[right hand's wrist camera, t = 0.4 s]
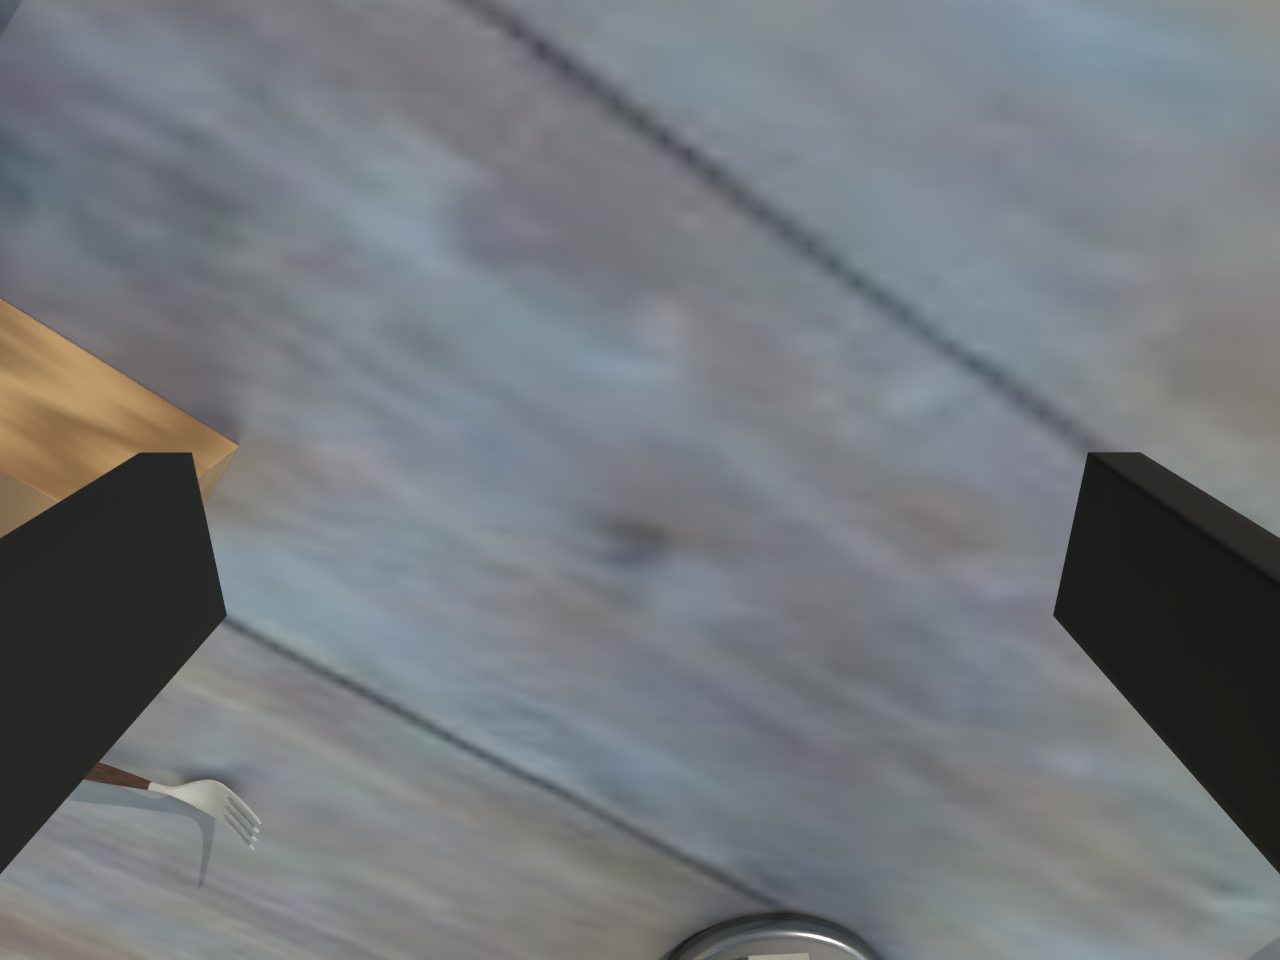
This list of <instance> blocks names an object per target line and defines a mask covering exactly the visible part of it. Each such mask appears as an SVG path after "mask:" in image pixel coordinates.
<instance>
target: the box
mask: <svg viewBox="0 0 1280 960" xmlns="http://www.w3.org/2000/svg"><path fill="white" fill-rule="evenodd" d="M238 447H239V446H238V445H237V444H235V443H233V442H232V441H230V440H229V439H227V438H225V437H224V436H222V435H220V434H219V433H217V432H216V431H214V430H212V429H211V428H209V427H208V426H206V425H204V424H203V423H201V422H199V421H198V420H196V419H195V418H193V417H191V416H190V415H188V414H186V413H185V412H183V411H182V410H180V409H178V408H177V407H175V406H174V405H172V404H170V403H169V402H167V401H165V400H164V399H162V398H161V397H159V396H157V395H156V394H154V393H152V392H151V391H149V390H148V389H146V388H144V387H143V386H141V385H140V384H138V383H136V382H135V381H133V380H131V379H130V378H128V377H127V376H125V375H123V374H122V373H120V372H118V371H117V370H115V369H114V368H112V367H110V366H109V365H107V364H105V363H104V362H102V361H101V360H99V359H97V358H96V357H94V356H93V355H91V354H89V353H88V352H86V351H84V350H83V349H81V348H80V347H78V346H76V345H75V344H73V343H71V342H70V341H68V340H67V339H65V338H63V337H62V336H60V335H59V334H57V333H55V332H54V331H52V330H50V329H49V328H47V327H46V326H44V325H42V324H41V323H39V322H37V321H36V320H34V319H33V318H31V317H29V316H28V315H26V314H25V313H23V312H21V311H20V310H18V309H16V308H15V307H13V306H12V305H10V304H8V303H7V302H5V301H3V300H2V299H0V538H1V537H3V536H5V535H6V534H8V533H10V532H11V531H13V530H14V529H16V528H18V527H19V526H21V525H23V524H24V523H26V522H27V521H29V520H31V519H32V518H34V517H36V516H37V515H39V514H40V513H42V512H44V511H45V510H47V509H49V508H50V507H52V506H53V505H55V504H57V503H58V502H60V501H62V500H63V499H65V498H66V497H68V496H70V495H71V494H73V493H75V492H76V491H78V490H79V489H81V488H83V487H84V486H86V485H88V484H89V483H91V482H92V481H94V480H96V479H97V478H99V477H101V476H102V475H104V474H105V473H107V472H109V471H110V470H112V469H114V468H115V467H117V466H118V465H120V464H122V463H123V462H125V461H127V460H128V459H130V458H131V457H133V456H135V455H136V454H138V453H140V452H192V455H193V460H194V464H195V469H196V474H197V478H198V483H199V488H200V492H201V497H202V502H203V505H204V504H205V502H206V500H207V499H208V497H209V495H210V494H211V492H212V490H213V489H214V487H215V485H216V484H217V482H218V480H219V479H220V477H221V475H222V474H223V472H224V470H225V469H226V467H227V465H228V464H229V462H230V460H231V459H232V457H233V455H234V454H235V452H236V450H237V449H238Z"/></svg>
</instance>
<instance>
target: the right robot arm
mask: <svg viewBox="0 0 1280 960" xmlns="http://www.w3.org/2000/svg"><path fill="white" fill-rule="evenodd" d="M226 616H227V614H226V610H225V605H224V600H223V596H222V591H221V586H220V581H219V577H218V572H217V567H216V563H215V558H214V553H213V549H212V544H211V539H210V535H209V530H208V525H207V521H206V516H205V511H204V507H203V502H202V497H201V492H200V488H199V483H198V478H197V474H196V469H195V464H194V460H193V455H192V452H140V453H138V454H136V455H135V456H133V457H131V458H130V459H128V460H127V461H125V462H123V463H122V464H120V465H118V466H117V467H115V468H114V469H112V470H110V471H109V472H107V473H105V474H104V475H102V476H101V477H99V478H97V479H96V480H94V481H92V482H91V483H89V484H88V485H86V486H84V487H83V488H81V489H79V490H78V491H76V492H75V493H73V494H71V495H70V496H68V497H66V498H65V499H63V500H62V501H60V502H58V503H57V504H55V505H53V506H52V507H50V508H49V509H47V510H45V511H44V512H42V513H40V514H39V515H37V516H36V517H34V518H32V519H31V520H29V521H27V522H26V523H24V524H23V525H21V526H19V527H18V528H16V529H14V530H13V531H11V532H10V533H8V534H6V535H5V536H3V537H1V538H0V874H1V873H2V871H3V870H4V869H5V868H6V867H7V866H8V865H9V863H10V862H11V861H12V860H13V859H14V858H15V857H16V855H17V854H18V853H19V852H20V851H21V850H22V849H23V847H24V846H25V845H26V844H27V843H28V842H29V841H30V839H31V838H32V837H33V836H34V835H35V834H36V833H37V831H38V830H39V829H40V828H41V827H42V826H43V825H44V823H45V822H46V821H47V820H48V819H49V818H50V817H51V816H52V814H53V813H54V812H55V811H56V810H57V809H58V808H59V806H60V805H61V804H62V803H63V802H64V801H65V800H66V798H67V797H68V796H69V795H70V794H71V793H72V792H73V790H74V789H75V788H76V787H77V786H78V785H79V784H80V782H81V781H82V780H83V779H84V778H85V777H86V776H87V774H88V773H89V772H90V771H91V770H92V769H93V768H94V766H95V765H96V764H97V763H98V762H99V761H100V760H101V758H102V757H103V756H104V755H105V754H106V753H107V752H108V750H109V749H110V748H111V747H112V746H113V745H114V744H115V743H116V741H117V740H118V739H119V738H120V737H121V736H122V735H123V733H124V732H125V731H126V730H127V729H128V728H129V727H130V725H131V724H132V723H133V722H134V721H135V720H136V719H137V717H138V716H139V715H140V714H141V713H142V712H143V711H144V709H145V708H146V707H147V706H148V705H149V704H150V703H151V701H152V700H153V699H154V698H155V697H156V696H157V695H158V693H159V692H160V691H161V690H162V689H163V688H164V687H165V685H166V684H167V683H168V682H169V681H170V680H171V679H172V677H173V676H174V675H175V674H176V673H177V672H178V671H179V670H180V668H181V667H182V666H183V665H184V664H185V663H186V662H187V660H188V659H189V658H190V657H191V656H192V655H193V654H194V652H195V651H196V650H197V649H198V648H199V647H200V646H201V644H202V643H203V642H204V641H205V640H206V639H207V638H208V636H209V635H210V634H211V633H212V632H213V631H214V630H215V628H216V627H217V626H218V625H219V624H220V623H221V622H222V620H223V619H224V618H225V617H226ZM1053 616H1054V617H1055V618H1056V619H1057V620H1058V622H1059V623H1060V624H1061V625H1062V626H1063V627H1064V628H1065V630H1066V631H1067V632H1068V633H1069V634H1070V635H1071V636H1072V638H1073V639H1074V640H1075V641H1076V642H1077V643H1078V644H1079V646H1080V647H1081V648H1082V649H1083V650H1084V651H1085V652H1086V654H1087V655H1088V656H1089V657H1090V658H1091V659H1092V660H1093V662H1094V663H1095V664H1096V665H1097V666H1098V667H1099V668H1100V670H1101V671H1102V672H1103V673H1104V674H1105V675H1106V676H1107V678H1108V679H1109V680H1110V681H1111V682H1112V683H1113V684H1114V685H1115V687H1116V688H1117V689H1118V690H1119V691H1120V692H1121V693H1122V695H1123V696H1124V697H1125V698H1126V699H1127V700H1128V701H1129V703H1130V704H1131V705H1132V706H1133V707H1134V708H1135V709H1136V711H1137V712H1138V713H1139V714H1140V715H1141V716H1142V717H1143V719H1144V720H1145V721H1146V722H1147V723H1148V724H1149V725H1150V727H1151V728H1152V729H1153V730H1154V731H1155V732H1156V733H1157V735H1158V736H1159V737H1160V738H1161V739H1162V740H1163V741H1164V743H1165V744H1166V745H1167V746H1168V747H1169V748H1170V749H1171V750H1172V752H1173V753H1174V754H1175V755H1176V756H1177V757H1178V758H1179V760H1180V761H1181V762H1182V763H1183V764H1184V765H1185V766H1186V768H1187V769H1188V770H1189V771H1190V772H1191V773H1192V774H1193V776H1194V777H1195V778H1196V779H1197V780H1198V781H1199V782H1200V784H1201V785H1202V786H1203V787H1204V788H1205V789H1206V790H1207V792H1208V793H1209V794H1210V795H1211V796H1212V797H1213V798H1214V800H1215V801H1216V802H1217V803H1218V804H1219V805H1220V806H1221V808H1222V809H1223V810H1224V811H1225V812H1226V813H1227V814H1228V816H1229V817H1230V818H1231V819H1232V820H1233V821H1234V822H1235V823H1236V825H1237V826H1238V827H1239V828H1240V829H1241V830H1242V831H1243V833H1244V834H1245V835H1246V836H1247V837H1248V838H1249V839H1250V841H1251V842H1252V843H1253V844H1254V845H1255V846H1256V847H1257V849H1258V850H1259V851H1260V852H1261V853H1262V854H1263V855H1264V857H1265V858H1266V859H1267V860H1268V861H1269V862H1270V863H1271V865H1272V866H1273V867H1274V868H1275V869H1276V870H1277V871H1278V873H1279V874H1280V538H1279V537H1277V536H1275V535H1274V534H1272V533H1270V532H1269V531H1267V530H1266V529H1264V528H1262V527H1261V526H1259V525H1257V524H1256V523H1254V522H1253V521H1251V520H1249V519H1248V518H1246V517H1244V516H1243V515H1241V514H1240V513H1238V512H1236V511H1235V510H1233V509H1231V508H1230V507H1228V506H1227V505H1225V504H1223V503H1222V502H1220V501H1218V500H1217V499H1215V498H1214V497H1212V496H1210V495H1209V494H1207V493H1205V492H1204V491H1202V490H1201V489H1199V488H1197V487H1196V486H1194V485H1192V484H1191V483H1189V482H1188V481H1186V480H1184V479H1183V478H1181V477H1179V476H1178V475H1176V474H1175V473H1173V472H1171V471H1170V470H1168V469H1166V468H1165V467H1163V466H1162V465H1160V464H1158V463H1157V462H1155V461H1153V460H1152V459H1150V458H1149V457H1147V456H1145V455H1144V454H1142V453H1140V452H1088V455H1087V460H1086V464H1085V469H1084V474H1083V478H1082V483H1081V488H1080V492H1079V497H1078V502H1077V506H1076V511H1075V516H1074V521H1073V525H1072V530H1071V535H1070V539H1069V544H1068V549H1067V553H1066V558H1065V563H1064V567H1063V572H1062V577H1061V581H1060V586H1059V591H1058V596H1057V600H1056V605H1055V610H1054V614H1053ZM670 960H879V959H878V957H877V956H876V954H875V953H874V951H873V950H872V949H871V948H870V947H869V946H868V945H867V944H866V943H865V942H864V941H863V940H862V939H861V938H859V937H858V936H856V935H855V934H854V933H852V932H850V931H849V930H847V929H845V928H843V927H841V926H839V925H837V924H834V923H832V922H829V921H826V920H823V919H819V918H816V917H811V916H806V915H798V914H786V913H769V914H758V915H752V916H746V917H741V918H737V919H733V920H730V921H727V922H724V923H721V924H719V925H716V926H714V927H712V928H710V929H708V930H706V931H704V932H702V933H700V934H699V935H697V936H695V937H694V938H692V939H691V940H690V941H688V942H687V943H686V944H684V945H683V946H682V947H681V948H680V949H679V950H678V951H677V952H676V953H675V954H674V955H673V956H672V958H671V959H670Z"/></svg>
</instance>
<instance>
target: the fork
mask: <svg viewBox="0 0 1280 960" xmlns="http://www.w3.org/2000/svg"><path fill="white" fill-rule="evenodd" d="M84 779H86V780H90V781H95V782H101V783H107V784H113V785H119V786H126V787H132V788H138V789H145V790H151V791H156V792H161V793H165V794H168V795H171V796H174V797H176V798H178V799H181V800H183V801H185V802H187V803H189V804H191V805H193V806H195V807H197V808H199V809H200V810H202V811H204V812H206V813H208V814H210V815H212V816H213V817H215V818H217V819H219V820H220V821H222V822H223V823H224V824H226V825H227V826H228V827H229V828H230V829H232V830H233V831H234V832H235V833H236V834H237V835H238V836H239V837H240V838H241V839H242V840H243V841H244V842H245V843H246V844H247V845H248V846H249V847H250V849H251V850H254V849H255V848H254V847H253V845H252V844H251V843H250V842H249V841H248V839H247V838H246V837H245V836H244V835H243V834H242V833H241V832H240V831H239V830H238V829H237V828H236V827H235V826H234V825H233V824H232V823H231V822H230V821H229V820H228V819H227V818H226V816H225V815H227V816H228V817H230V818H231V819H232V820H233V821H234V822H236V823H237V824H238V825H239V826H240V827H241V828H242V829H243V830H244V831H245V832H246V833H247V834H248V835H249V836H250V837H251V839H252V840H253V841H256V840H257V839H256V838H255V836H254V835H253V834H252V833H251V832H250V831H249V829H248V828H247V827H246V826H245V825H244V824H243V823H242V822H241V821H240V820H239V819H238V818H237V817H236V816H235V815H234V814H233V813H232V812H231V811H230V810H229V809H228V808H227V806H229V807H230V808H231V809H233V810H234V811H235V812H236V813H237V814H238V815H240V816H241V817H242V818H243V819H244V820H245V821H246V822H247V823H248V824H249V825H250V826H251V827H252V828H253V830H254V831H255V832H256V833H257V832H259V830H258V829H257V827H256V826H255V825H254V824H253V823H252V822H251V821H250V819H249V818H248V817H247V816H246V815H245V814H244V813H243V812H242V811H241V810H240V809H239V808H238V807H237V806H236V805H235V804H234V803H233V802H232V801H231V800H230V799H229V797H230V798H232V799H233V800H235V801H236V802H237V803H238V804H239V805H240V806H241V807H243V808H244V809H245V810H246V811H247V812H248V813H249V814H250V815H251V816H252V817H253V818H254V819H255V820H256V822H257V823H258V824H260V823H261V821H260V819H259V818H258V817H257V816H256V815H255V814H254V813H253V812H252V810H251V809H250V808H249V807H248V806H247V805H246V804H245V803H244V802H243V801H242V800H241V799H240V798H239V797H238V796H237V795H236V794H235V793H233V792H232V791H231V790H230V789H229V788H227V787H226V786H225V785H223V784H222V783H220V782H218V781H215V780H199V781H195V782H191V783H187V784H184V785H179V786H173V787H170V786H164V785H160V784H157V783H154V782H151V781H149V780H146V779H143V778H141V777H138V776H135V775H133V774H130V773H127V772H125V771H122V770H119V769H117V768H114V767H111V766H108V765H105V764H102V763H99V762H98V763H97V764H96V765H95V766H94V768H93V769H92V770H91V771H90V772H89V773H88V774H87V776H86V777H85V778H84Z"/></svg>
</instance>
